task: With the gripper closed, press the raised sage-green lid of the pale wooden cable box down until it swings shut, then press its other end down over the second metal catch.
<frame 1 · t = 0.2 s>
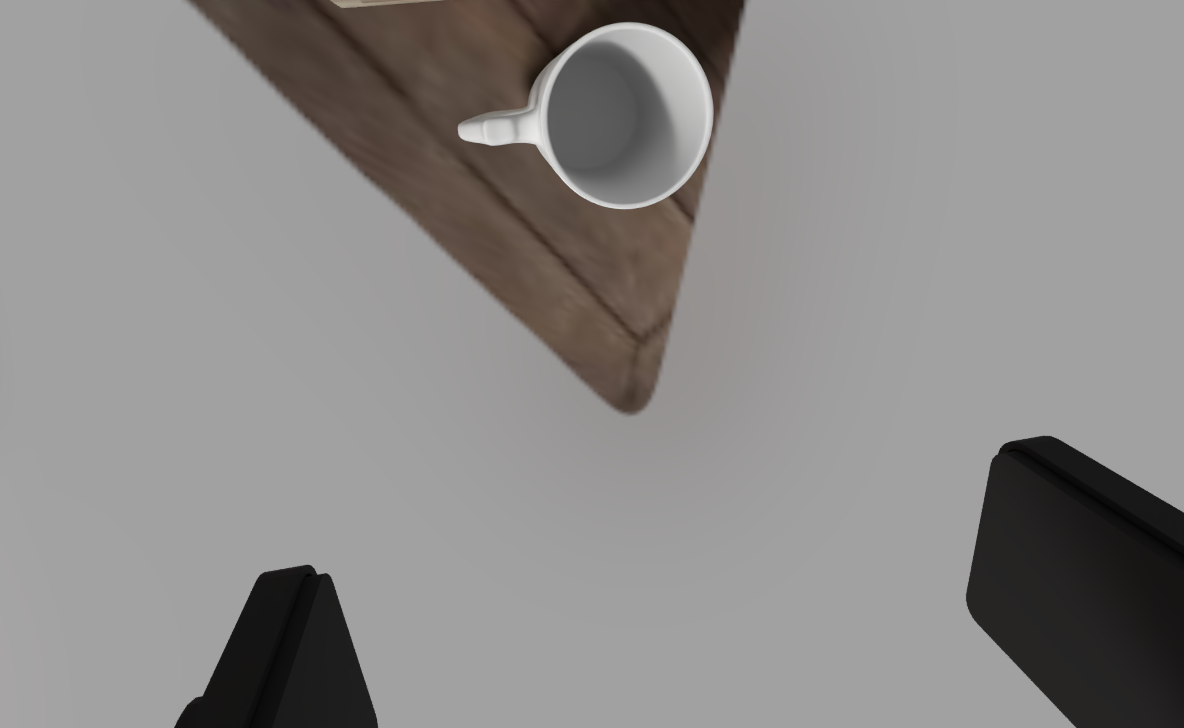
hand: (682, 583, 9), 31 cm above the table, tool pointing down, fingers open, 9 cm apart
mug: (553, 116, 35), on the table
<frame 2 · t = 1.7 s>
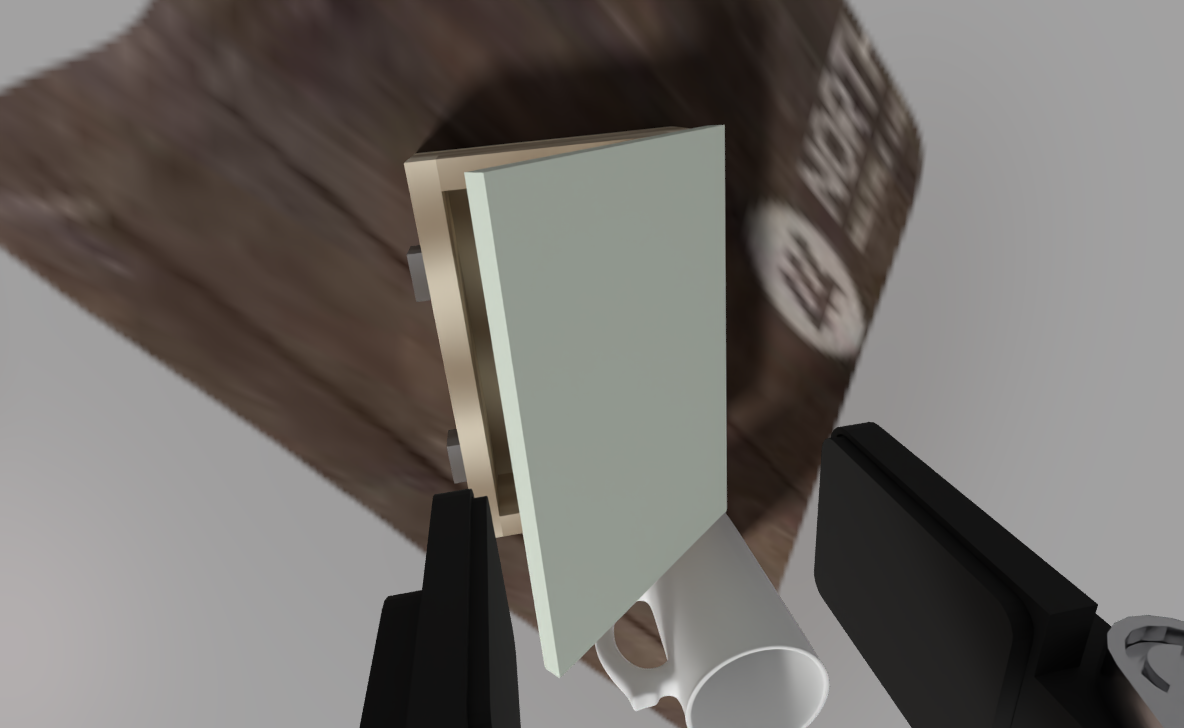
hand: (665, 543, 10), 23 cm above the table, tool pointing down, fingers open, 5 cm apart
lid: (635, 393, 25), point 9 cm above the table, hinge at 40.0°
mug: (655, 538, 40), on the table
cable box: (567, 322, 33), on the table
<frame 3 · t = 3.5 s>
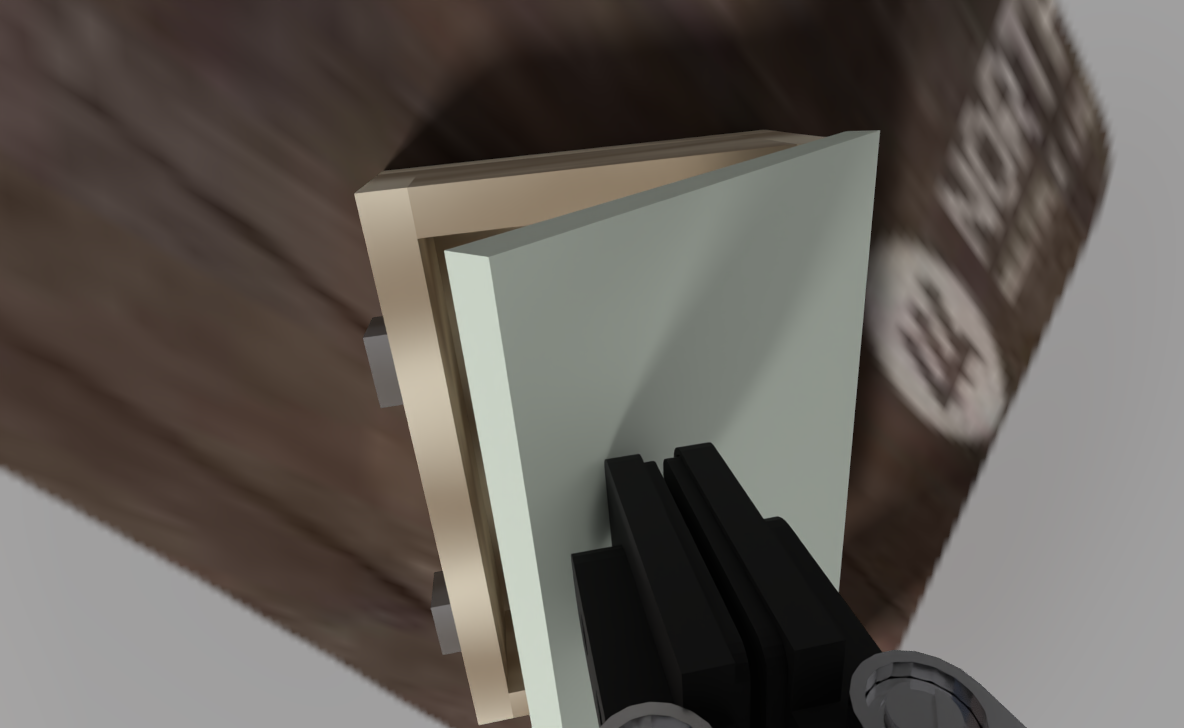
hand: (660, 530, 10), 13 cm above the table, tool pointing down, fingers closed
lid: (735, 571, 15), point 9 cm above the table, hinge at 40.0°, touching gripper
cable box: (603, 406, 23), on the table
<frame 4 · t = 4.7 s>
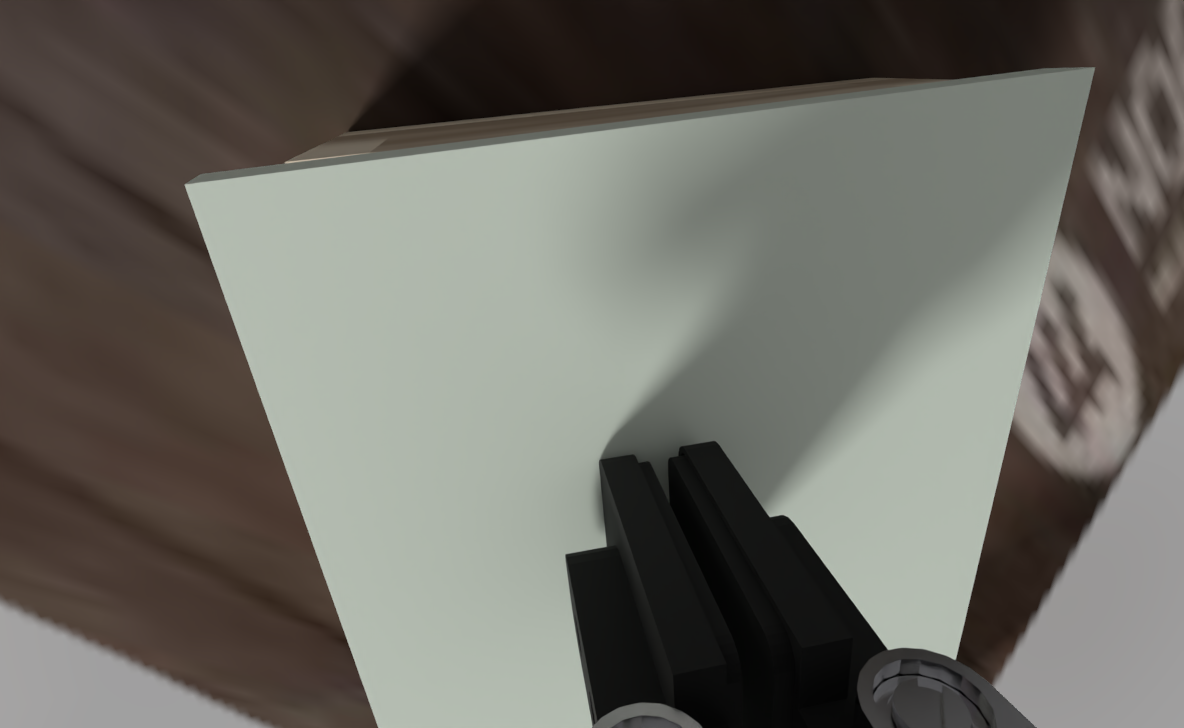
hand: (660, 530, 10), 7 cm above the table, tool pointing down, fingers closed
lid: (718, 620, 12), point 7 cm above the table, hinge at 10.4°, touching gripper
cable box: (642, 442, 18), on the table
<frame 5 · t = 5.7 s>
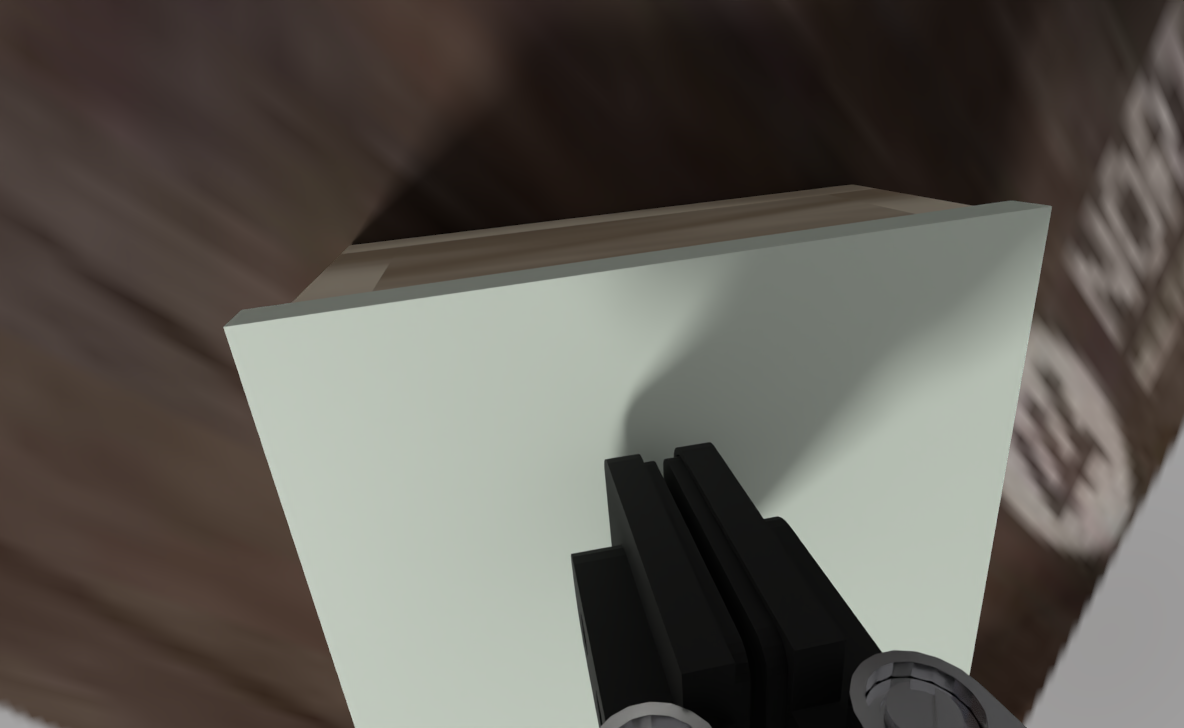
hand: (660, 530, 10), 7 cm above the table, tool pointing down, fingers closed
lid: (695, 700, 13), point 6 cm above the table, hinge at 3.1°
cable box: (638, 530, 18), on the table
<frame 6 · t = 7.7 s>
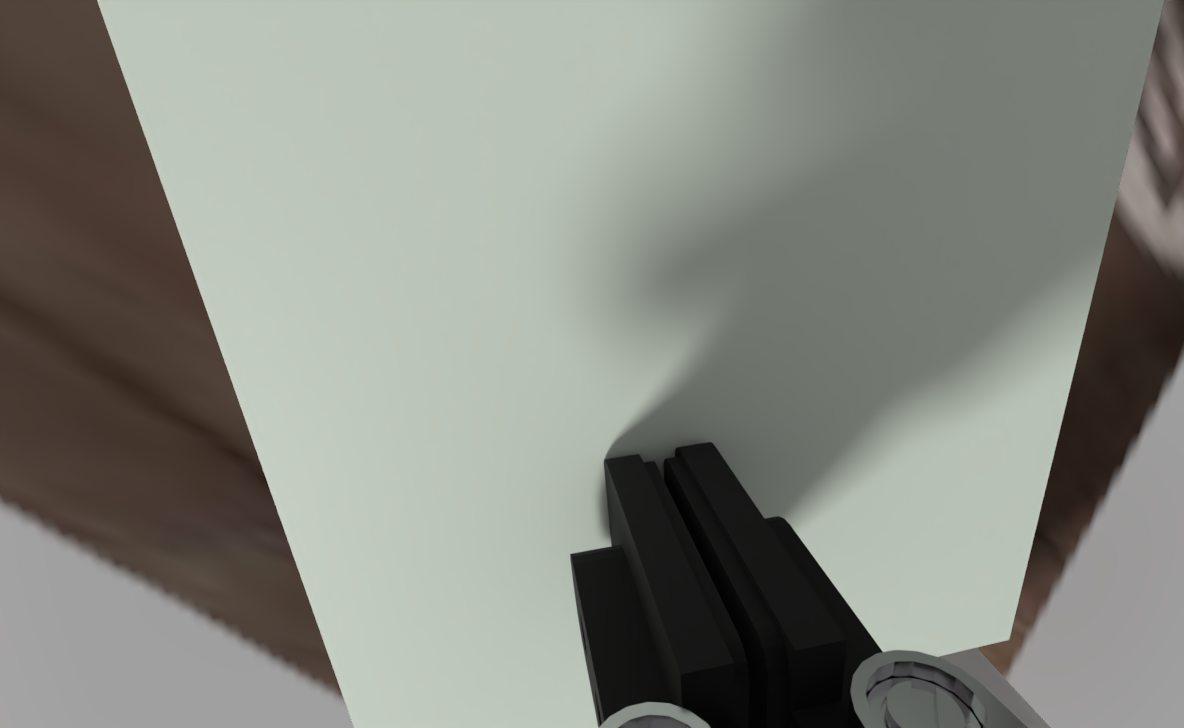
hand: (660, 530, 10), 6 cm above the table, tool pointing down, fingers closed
lid: (698, 213, 9), point 6 cm above the table, hinge at 1.5°, touching gripper
mug: (777, 637, 20), on the table
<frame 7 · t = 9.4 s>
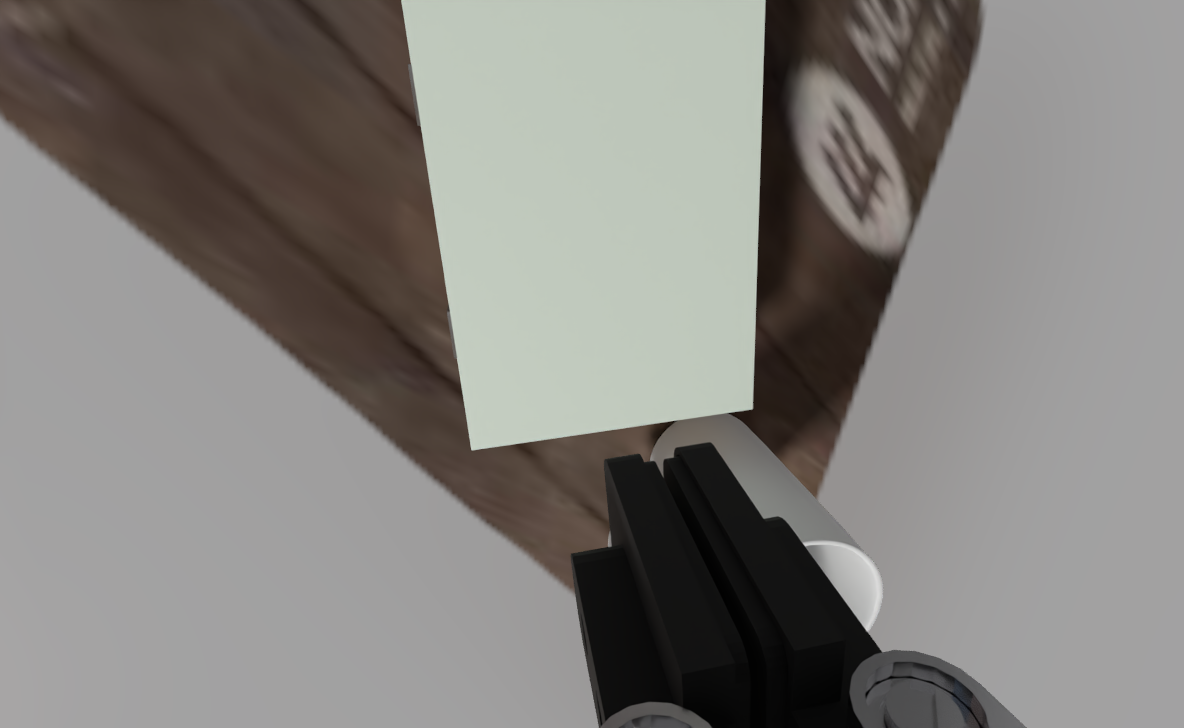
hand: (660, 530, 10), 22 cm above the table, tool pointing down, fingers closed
lid: (602, 211, 24), point 5 cm above the table, hinge at 0.9°
mug: (673, 461, 36), on the table
cable box: (584, 194, 29), on the table
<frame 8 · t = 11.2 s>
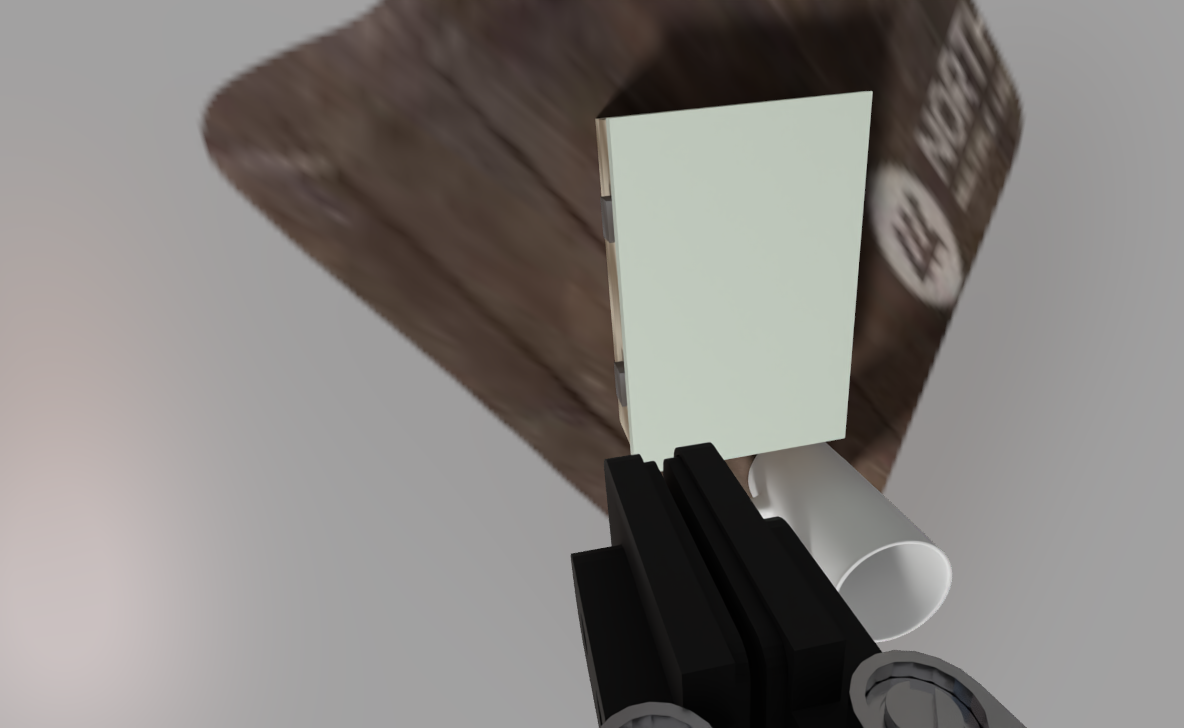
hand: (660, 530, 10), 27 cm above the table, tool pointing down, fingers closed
lid: (740, 298, 32), point 5 cm above the table, hinge at 0.9°
mug: (766, 473, 44), on the table
cable box: (708, 271, 37), on the table
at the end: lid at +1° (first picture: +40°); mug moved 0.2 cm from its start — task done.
